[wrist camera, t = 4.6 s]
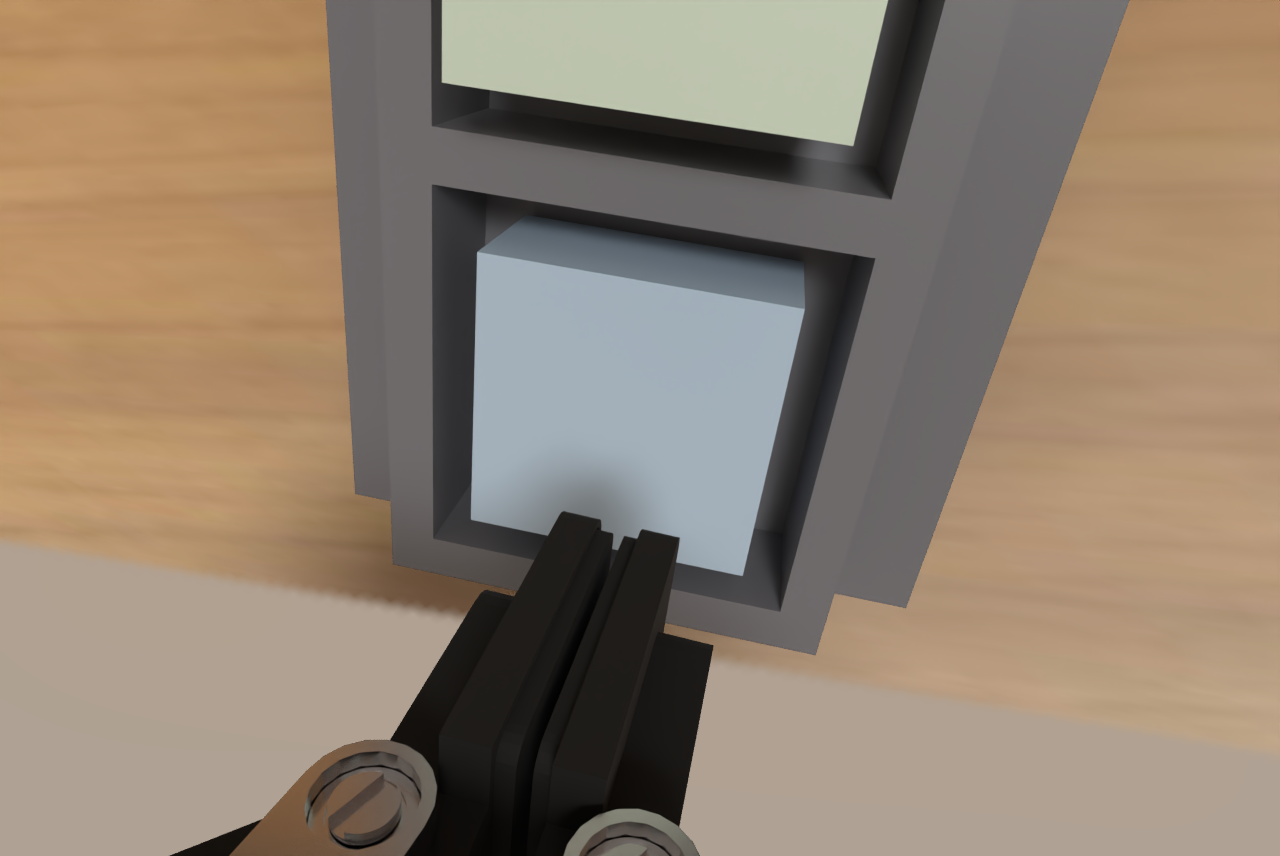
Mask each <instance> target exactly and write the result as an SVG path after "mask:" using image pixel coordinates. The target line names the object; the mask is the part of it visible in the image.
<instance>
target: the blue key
mask: <svg viewBox="0 0 1280 856" xmlns="http://www.w3.org/2000/svg"><path fill="white" fill-rule="evenodd" d="M804 311H805V288H804V262H801V261H795V260H790V259H784V258H778V257H772V256H766V255H760V254H754V253H748V252H742V251H736V250H730V249H724V248H719V247H713V246H707V245H701V244H695V243H689V242H683V241H677V240H671V239H665V238H659V237H653V236H648V235H642V234H636V233H630V232H624V231H618V230H612V229H606V228H600V227H594V226H588V225H582V224H577V223H571V222H565V221H559V220H553V219H547V218H541V217H535V216H529V215H525V216H524V217H523V218H521V219H520V220H519V221H517V222H516V223H515V224H513V225H512V226H511V227H509V228H508V229H507V230H506V231H504V232H503V233H502V234H500V235H499V236H498V237H496V238H495V239H494V240H492V241H491V242H490V243H488V244H487V245H486V246H484V247H483V248H482V249H480V250H479V251H478V252H477V282H476V324H475V365H474V407H473V449H472V490H471V520H475V521H480V522H484V523H489V524H494V525H499V526H504V527H509V528H513V529H518V530H523V531H528V532H533V533H537V534H542V535H547V536H548V535H549V533H550V531H551V529H552V527H553V525H554V524H555V522H556V520H557V518H558V516H559V515H560V513H561V512H563V511H566V512H570V513H574V514H579V515H583V516H587V517H592V518H596V519H600V520H601V525H602V526H601V530H602V531H606V532H611V533H613V546H612V549H614V550H618V549H619V547H620V544H621V542H622V539H623V537H624V536H628V537H632V538H638V536H639V533H640V531H641V530H642V529H644V530H649V531H653V532H658V533H662V534H666V535H671V536H675V537H679V538H680V542H679V549H678V554H677V560H676V562H677V563H682V564H687V565H692V566H696V567H701V568H706V569H711V570H716V571H720V572H725V573H730V574H735V575H740V576H743V572H744V568H745V564H746V560H747V555H748V551H749V547H750V542H751V538H752V534H753V530H754V525H755V521H756V517H757V512H758V508H759V504H760V500H761V495H762V491H763V487H764V482H765V478H766V474H767V470H768V465H769V461H770V457H771V452H772V448H773V444H774V440H775V435H776V431H777V427H778V423H779V418H780V414H781V410H782V405H783V401H784V397H785V393H786V388H787V384H788V380H789V375H790V371H791V367H792V363H793V358H794V354H795V350H796V345H797V341H798V337H799V333H800V328H801V324H802V320H803V315H804Z"/></svg>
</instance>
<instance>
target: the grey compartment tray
mask: <svg viewBox="0 0 1280 856" xmlns="http://www.w3.org/2000/svg"><path fill="white" fill-rule="evenodd" d="M1128 3H1129V0H888V3H887V7H886V11H885V15H884V19H883V24H882V28H881V32H880V36H879V40H878V44H877V49H876V53H875V57H874V61H873V65H872V69H871V74H870V78H869V82H868V86H867V90H866V95H865V99H864V103H863V107H862V111H861V115H860V120H859V124H858V128H857V132H856V136H855V141H854V145H853V146H849V145H843V144H836V143H830V142H824V141H817V140H811V139H804V138H798V137H791V136H785V135H778V134H772V133H765V132H759V131H752V130H746V129H739V128H733V127H726V126H720V125H713V124H707V123H700V122H694V121H687V120H681V119H675V118H668V117H662V116H655V115H649V114H642V113H636V112H629V111H623V110H616V109H610V108H603V107H597V106H590V105H584V104H577V103H571V102H564V101H558V100H551V99H545V98H538V97H532V96H526V95H519V94H513V93H506V92H500V91H493V90H487V89H480V88H474V87H467V86H461V85H454V84H448V83H442V0H326V11H327V28H328V45H329V62H330V78H331V95H332V112H333V129H334V145H335V162H336V179H337V196H338V212H339V229H340V246H341V263H342V279H343V296H344V313H345V330H346V346H347V363H348V380H349V397H350V413H351V430H352V447H353V464H354V480H355V494H358V495H363V496H368V497H373V498H377V499H382V500H387V501H391V524H392V553H393V564H394V565H399V566H403V567H408V568H413V569H417V570H422V571H427V572H431V573H436V574H441V575H445V576H450V577H454V578H459V579H464V580H468V581H473V582H478V583H482V584H487V585H492V586H496V587H501V588H506V589H510V590H515V591H518V589H519V587H520V586H521V584H522V582H523V580H524V578H525V576H526V575H527V573H528V571H529V569H530V567H531V565H532V564H533V562H534V560H535V558H536V556H537V555H538V553H539V551H540V549H541V547H542V545H543V544H544V542H545V540H546V538H547V535H542V534H537V533H533V532H528V531H523V530H518V529H513V528H509V527H504V526H499V525H494V524H489V523H484V522H480V521H475V520H471V490H472V449H473V407H474V365H475V324H476V282H477V252H478V251H479V250H480V249H482V248H483V247H484V246H486V245H487V244H488V243H490V242H491V241H492V240H494V239H495V238H496V237H498V236H499V235H500V234H502V233H503V232H504V231H506V230H507V229H508V228H509V227H511V226H512V225H513V224H515V223H516V222H517V221H519V220H520V219H521V218H523V217H524V216H525V215H529V216H535V217H541V218H547V219H553V220H559V221H565V222H571V223H577V224H582V225H588V226H594V227H600V228H606V229H612V230H618V231H624V232H630V233H636V234H642V235H648V236H653V237H659V238H665V239H671V240H677V241H683V242H689V243H695V244H701V245H707V246H713V247H719V248H724V249H730V250H736V251H742V252H748V253H754V254H760V255H766V256H772V257H778V258H784V259H790V260H795V261H801V262H804V288H805V311H804V315H803V320H802V324H801V328H800V333H799V337H798V341H797V345H796V350H795V354H794V358H793V363H792V367H791V371H790V375H789V380H788V384H787V388H786V393H785V397H784V401H783V405H782V410H781V414H780V418H779V423H778V427H777V431H776V435H775V440H774V444H773V448H772V452H771V457H770V461H769V465H768V470H767V474H766V478H765V482H764V487H763V491H762V495H761V500H760V504H759V508H758V512H757V517H756V521H755V525H754V530H753V534H752V538H751V542H750V547H749V551H748V555H747V560H746V564H745V568H744V572H743V576H740V575H735V574H730V573H725V572H720V571H716V570H711V569H706V568H701V567H696V566H692V565H687V564H682V563H677V562H676V565H675V571H674V576H673V582H672V587H671V593H670V599H669V604H668V610H667V615H666V621H665V623H668V624H673V625H677V626H682V627H687V628H691V629H696V630H701V631H705V632H710V633H715V634H719V635H724V636H729V637H733V638H738V639H742V640H747V641H752V642H756V643H761V644H766V645H770V646H775V647H780V648H784V649H789V650H794V651H798V652H803V653H808V654H812V655H816V652H817V649H818V645H819V642H820V639H821V636H822V632H823V629H824V626H825V623H826V619H827V616H828V613H829V610H830V606H831V603H832V600H833V597H834V593H835V594H840V595H845V596H850V597H855V598H859V599H864V600H869V601H874V602H879V603H884V604H888V605H893V606H898V607H903V608H906V607H907V604H908V601H909V598H910V596H911V593H912V590H913V588H914V585H915V582H916V579H917V577H918V574H919V571H920V568H921V566H922V563H923V560H924V558H925V555H926V552H927V549H928V547H929V544H930V541H931V539H932V536H933V533H934V530H935V528H936V525H937V522H938V520H939V517H940V514H941V511H942V509H943V506H944V503H945V501H946V498H947V495H948V492H949V490H950V487H951V484H952V481H953V479H954V476H955V473H956V471H957V468H958V465H959V462H960V460H961V457H962V454H963V452H964V449H965V446H966V443H967V441H968V438H969V435H970V433H971V430H972V427H973V424H974V422H975V419H976V416H977V413H978V411H979V408H980V405H981V403H982V400H983V397H984V394H985V392H986V389H987V386H988V384H989V381H990V378H991V375H992V373H993V370H994V367H995V365H996V362H997V359H998V356H999V354H1000V351H1001V348H1002V346H1003V343H1004V340H1005V337H1006V335H1007V332H1008V329H1009V326H1010V324H1011V321H1012V318H1013V316H1014V313H1015V310H1016V307H1017V305H1018V302H1019V299H1020V297H1021V294H1022V291H1023V288H1024V286H1025V283H1026V280H1027V278H1028V275H1029V272H1030V269H1031V267H1032V264H1033V261H1034V258H1035V256H1036V253H1037V250H1038V248H1039V245H1040V242H1041V239H1042V237H1043V234H1044V231H1045V229H1046V226H1047V223H1048V220H1049V218H1050V215H1051V212H1052V210H1053V207H1054V204H1055V201H1056V199H1057V196H1058V193H1059V190H1060V188H1061V185H1062V182H1063V180H1064V177H1065V174H1066V171H1067V169H1068V166H1069V163H1070V161H1071V158H1072V155H1073V152H1074V150H1075V147H1076V144H1077V142H1078V139H1079V136H1080V133H1081V131H1082V128H1083V125H1084V123H1085V120H1086V117H1087V114H1088V112H1089V109H1090V106H1091V103H1092V101H1093V98H1094V95H1095V93H1096V90H1097V87H1098V84H1099V82H1100V79H1101V76H1102V74H1103V71H1104V68H1105V65H1106V63H1107V60H1108V57H1109V55H1110V52H1111V49H1112V46H1113V44H1114V41H1115V38H1116V35H1117V33H1118V30H1119V27H1120V25H1121V22H1122V19H1123V16H1124V14H1125V11H1126V8H1127V6H1128ZM617 552H618V550H614V549H612V553H611V561H610V569H611V566H612V564H613V562H614V559H615V557H616V554H617ZM610 569H609V571H610Z"/></svg>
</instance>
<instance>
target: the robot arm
mask: <svg viewBox="0 0 1280 856" xmlns="http://www.w3.org/2000/svg"><path fill="white" fill-rule="evenodd" d="M601 526H602V525H601V520H600V519H596V518H592V517H587V516H583V515H579V514H574V513H570V512H566V511H563V512H561V513H560V515H559V516H558V518H557V520H556V522H555V524H554V525H553V527H552V529H551V531H550V533H549V535H548V536H547V538H546V540H545V542H544V544H543V545H542V547H541V549H540V551H539V553H538V555H537V556H536V558H535V560H534V562H533V564H532V565H531V567H530V569H529V571H528V573H527V575H526V576H525V578H524V580H523V582H522V584H521V586H520V587H519V589H518V591H517V593H516V595H515V596H514V597H513V596H509V595H505V594H501V593H497V592H493V591H489V590H485V591H483V592H482V593H481V594H480V595H479V597H478V598H477V599H476V601H475V602H474V604H473V606H472V607H471V609H470V610H469V612H468V614H467V615H466V617H465V619H464V620H463V622H462V624H461V625H460V627H459V629H458V630H457V632H456V633H455V635H454V637H453V638H452V640H451V641H450V643H449V645H448V646H447V648H446V650H445V651H444V653H443V655H442V656H441V658H440V659H439V661H438V663H437V665H436V666H435V668H434V669H433V671H432V673H431V674H430V676H429V678H428V679H427V681H426V682H425V684H424V686H423V687H422V689H421V691H420V692H419V694H418V695H417V697H416V699H415V700H414V702H413V704H412V705H411V707H410V709H409V710H408V712H407V713H406V715H405V717H404V718H403V720H402V722H401V723H400V725H399V726H398V728H397V730H396V731H395V733H394V735H393V736H392V738H391V740H390V741H389V740H364V741H361V742H356V743H352V744H349V745H344V746H342V747H341V748H338V749H336V750H335V751H333V752H331V753H329V754H327V755H325V756H323V757H322V758H321V759H320V760H318V761H317V762H316V763H315V764H314V765H313V766H312V767H310V768H309V769H308V770H307V771H306V772H305V773H304V774H303V775H302V776H301V777H300V778H299V780H298V781H297V782H296V783H295V784H294V785H293V786H292V787H291V788H290V789H289V791H288V792H287V793H286V794H285V795H284V796H283V797H282V798H281V799H280V801H279V802H278V803H277V804H276V805H275V806H274V807H273V808H272V809H271V810H270V811H269V813H268V814H267V815H266V816H265V817H264V818H263V819H261V820H259V821H256V822H254V823H251V824H249V825H247V826H244V827H241V828H239V829H236V830H234V831H232V832H229V833H226V834H223V835H221V836H219V837H216V838H214V839H211V840H209V841H206V842H203V843H201V844H198V845H196V846H193V847H191V848H188V849H185V850H183V851H180V852H178V853H175V854H173V855H170V856H700V855H699V853H698V851H697V849H696V847H695V845H694V843H693V842H692V841H691V840H690V839H689V838H688V836H687V835H686V834H685V833H684V832H683V831H682V830H681V829H680V828H679V825H680V820H681V814H682V809H683V804H684V799H685V793H686V788H687V783H688V777H689V772H690V767H691V761H692V756H693V751H694V746H695V741H696V735H697V730H698V725H699V720H700V714H701V709H702V704H703V699H704V693H705V688H706V683H707V677H708V672H709V667H710V662H711V656H712V651H713V645H709V644H705V643H701V642H697V641H693V640H689V639H685V638H681V637H677V636H673V635H669V634H664V633H663V632H664V626H665V621H666V615H667V610H668V604H669V599H670V593H671V587H672V582H673V576H674V571H675V565H676V560H677V554H678V549H679V542H680V538H679V537H675V536H671V535H666V534H662V533H658V532H653V531H649V530H644V529H642V530H641V531H640V533H639V536H638V538H632V537H628V536H624V537H623V539H622V542H621V544H620V547H619V549H618V552H617V554H616V557H615V559H614V562H613V564H612V566H611V569H610V561H611V553H612V546H613V533H611V532H606V531H602V530H601ZM609 569H610V571H609Z"/></svg>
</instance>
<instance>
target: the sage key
mask: <svg viewBox="0 0 1280 856" xmlns="http://www.w3.org/2000/svg"><path fill="white" fill-rule="evenodd" d="M887 3H888V0H442V83H448V84H454V85H461V86H467V87H474V88H480V89H487V90H493V91H500V92H506V93H513V94H519V95H526V96H532V97H538V98H545V99H551V100H558V101H564V102H571V103H577V104H584V105H590V106H597V107H603V108H610V109H616V110H623V111H629V112H636V113H642V114H649V115H655V116H662V117H668V118H675V119H681V120H687V121H694V122H700V123H707V124H713V125H720V126H726V127H733V128H739V129H746V130H752V131H759V132H765V133H772V134H778V135H785V136H791V137H798V138H804V139H811V140H817V141H824V142H830V143H836V144H843V145H849V146H853V145H854V141H855V136H856V132H857V128H858V124H859V120H860V115H861V111H862V107H863V103H864V99H865V95H866V90H867V86H868V82H869V78H870V74H871V69H872V65H873V61H874V57H875V53H876V49H877V44H878V40H879V36H880V32H881V28H882V24H883V19H884V15H885V11H886V7H887Z"/></svg>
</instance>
